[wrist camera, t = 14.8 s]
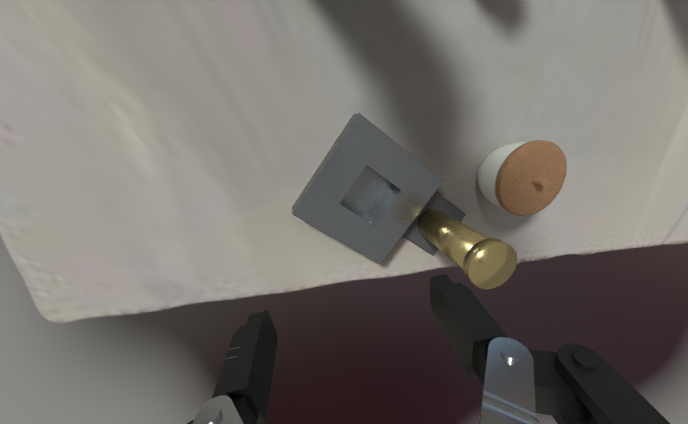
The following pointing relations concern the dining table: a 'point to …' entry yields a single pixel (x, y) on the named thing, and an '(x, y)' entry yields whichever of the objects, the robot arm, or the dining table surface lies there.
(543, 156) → the lidded jar
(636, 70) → the dining table surface
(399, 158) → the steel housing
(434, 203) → the rubber mat
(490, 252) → the brass plug
